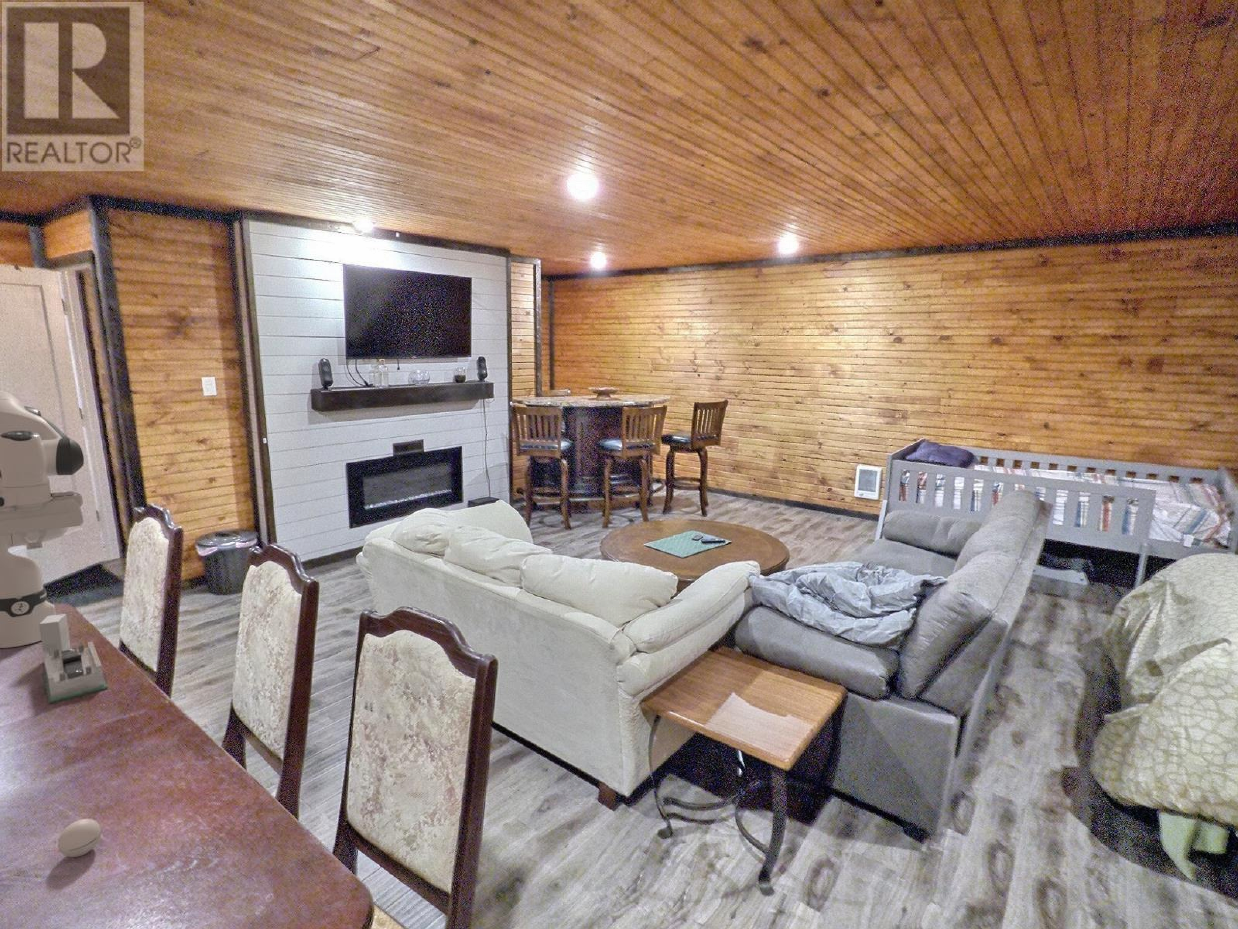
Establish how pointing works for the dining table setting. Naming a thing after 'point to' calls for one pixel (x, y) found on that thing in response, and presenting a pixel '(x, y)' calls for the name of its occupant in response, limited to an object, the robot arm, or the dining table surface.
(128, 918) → the dining table surface
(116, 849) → the dining table surface
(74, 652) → the strap
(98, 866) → the dining table surface
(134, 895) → the dining table surface
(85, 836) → the beige oval egg shape
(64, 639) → the skincare box
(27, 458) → the robot arm
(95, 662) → the fuse holder
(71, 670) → the strap
